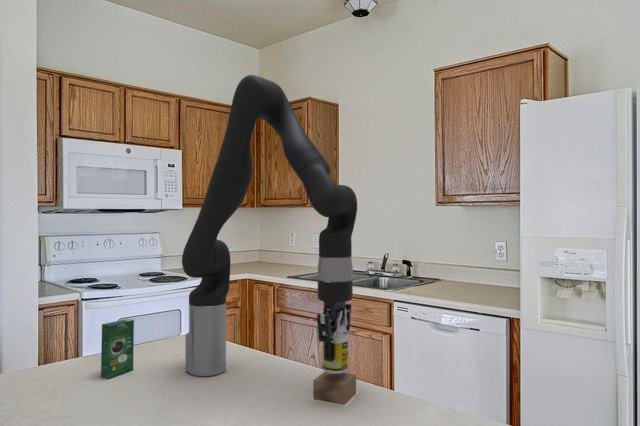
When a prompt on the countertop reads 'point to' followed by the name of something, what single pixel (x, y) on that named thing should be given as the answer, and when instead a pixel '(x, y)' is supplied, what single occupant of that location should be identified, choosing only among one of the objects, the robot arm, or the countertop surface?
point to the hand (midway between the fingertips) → (334, 356)
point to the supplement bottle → (338, 354)
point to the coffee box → (117, 348)
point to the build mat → (337, 403)
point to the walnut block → (334, 387)
